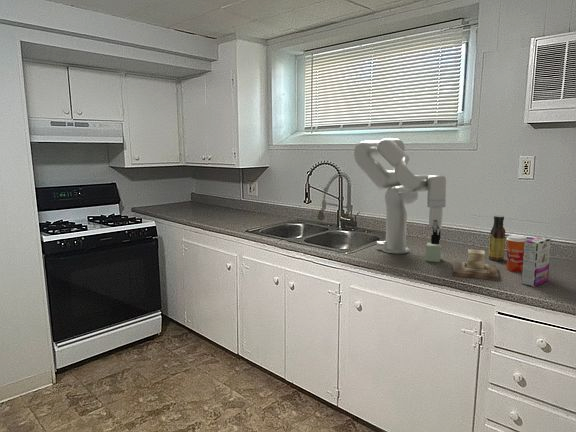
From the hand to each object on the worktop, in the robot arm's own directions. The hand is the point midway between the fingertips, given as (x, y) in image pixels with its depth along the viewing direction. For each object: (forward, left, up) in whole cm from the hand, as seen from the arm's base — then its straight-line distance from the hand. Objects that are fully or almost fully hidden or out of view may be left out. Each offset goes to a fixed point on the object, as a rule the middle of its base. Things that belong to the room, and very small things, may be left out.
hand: (435, 241), depth 185 cm
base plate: (+16, -13, -8) cm, 23 cm away
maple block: (+16, -13, -7) cm, 22 cm away
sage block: (-1, 0, -8) cm, 9 cm away
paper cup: (+31, -4, -9) cm, 33 cm away
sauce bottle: (+25, +11, -9) cm, 29 cm away
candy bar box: (+36, -19, -9) cm, 42 cm away
